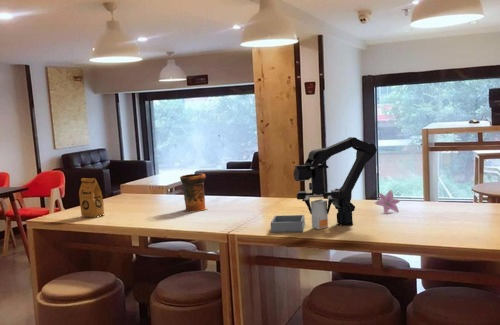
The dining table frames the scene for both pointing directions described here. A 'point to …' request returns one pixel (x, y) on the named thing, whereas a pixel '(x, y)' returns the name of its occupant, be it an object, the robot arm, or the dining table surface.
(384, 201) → the lily
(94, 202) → the coffee package
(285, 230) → the box
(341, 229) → the dining table surface
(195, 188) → the vessel
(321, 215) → the skincare box
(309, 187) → the robot arm
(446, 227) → the dining table surface
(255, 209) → the dining table surface
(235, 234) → the dining table surface
